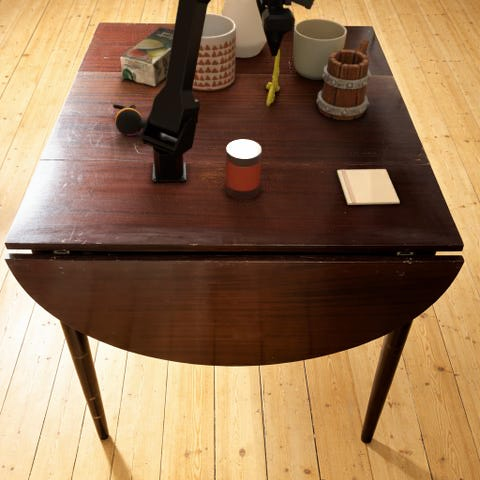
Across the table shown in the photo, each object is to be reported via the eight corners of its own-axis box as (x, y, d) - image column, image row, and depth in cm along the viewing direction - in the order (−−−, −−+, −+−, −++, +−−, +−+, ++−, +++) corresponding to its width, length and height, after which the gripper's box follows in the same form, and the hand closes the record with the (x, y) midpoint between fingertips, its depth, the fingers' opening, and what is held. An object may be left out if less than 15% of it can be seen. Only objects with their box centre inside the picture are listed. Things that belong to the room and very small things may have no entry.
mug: (304, 112, 138) (317, 42, 129) (329, 97, 148) (343, 32, 139) (351, 127, 134) (368, 56, 125) (374, 111, 144) (391, 44, 135)
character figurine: (109, 124, 136) (114, 135, 126) (113, 98, 134) (118, 107, 124) (154, 133, 140) (163, 144, 129) (159, 108, 137) (168, 117, 127)
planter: (348, 81, 149) (356, 36, 141) (303, 88, 146) (308, 43, 138) (325, 59, 157) (331, 15, 149) (282, 66, 154) (285, 22, 146)
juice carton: (154, 89, 144) (152, 63, 139) (118, 80, 146) (115, 55, 142) (193, 56, 156) (192, 32, 152) (159, 49, 159) (157, 25, 155)
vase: (171, 87, 145) (167, 32, 135) (188, 62, 154) (186, 9, 145) (226, 95, 143) (227, 40, 133) (240, 70, 152) (242, 16, 143)
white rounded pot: (226, 35, 166) (227, -20, 155) (274, 43, 163) (277, -13, 153) (209, 56, 157) (209, -2, 147) (259, 64, 154) (262, 6, 144)
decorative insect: (274, 120, 146) (271, 104, 136) (261, 119, 146) (256, 102, 136) (284, 67, 146) (282, 47, 136) (271, 66, 146) (267, 46, 136)
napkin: (399, 203, 116) (399, 201, 116) (347, 204, 115) (348, 202, 115) (385, 170, 123) (386, 168, 123) (336, 171, 123) (337, 169, 122)
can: (260, 199, 116) (263, 158, 109) (226, 200, 115) (227, 159, 108) (257, 179, 120) (260, 138, 113) (224, 180, 119) (225, 139, 113)
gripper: (324, -15, 116) (315, 65, 127) (308, -49, 128) (301, 27, 140) (266, -15, 115) (262, 66, 126) (255, -48, 127) (253, 28, 139)
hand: (271, 46), depth 133 cm, fingers open, 9 cm apart
